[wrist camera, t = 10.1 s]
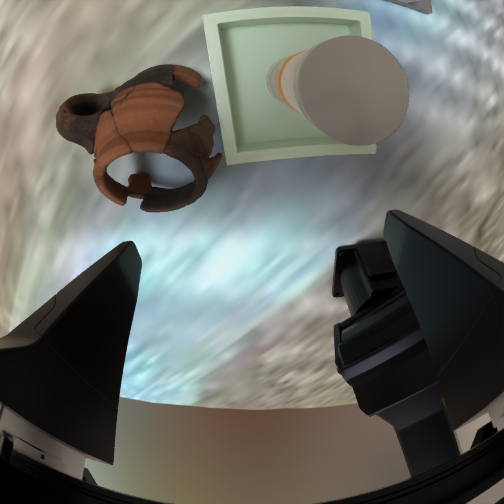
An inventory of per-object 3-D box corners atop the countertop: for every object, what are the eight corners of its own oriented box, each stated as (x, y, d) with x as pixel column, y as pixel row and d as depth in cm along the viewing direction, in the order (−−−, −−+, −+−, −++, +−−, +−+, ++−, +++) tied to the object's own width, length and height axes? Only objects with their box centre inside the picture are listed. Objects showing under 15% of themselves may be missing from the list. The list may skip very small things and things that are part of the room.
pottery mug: (242, 75, 17) (248, 152, 14) (198, 152, 25) (193, 230, 21) (85, 40, 12) (27, 110, 8) (77, 130, 19) (46, 207, 16)
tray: (361, 143, 20) (376, 153, 17) (228, 154, 20) (226, 165, 18) (354, 18, 13) (369, 12, 11) (207, 23, 14) (202, 15, 12)
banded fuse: (325, 92, 17) (421, 123, 7) (282, 112, 18) (332, 163, 8) (302, 50, 15) (381, 23, 5) (256, 70, 16) (277, 60, 6)
